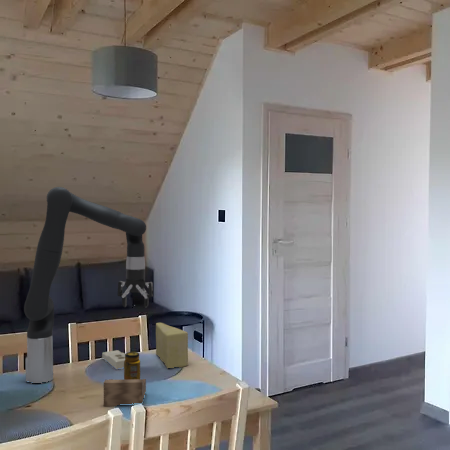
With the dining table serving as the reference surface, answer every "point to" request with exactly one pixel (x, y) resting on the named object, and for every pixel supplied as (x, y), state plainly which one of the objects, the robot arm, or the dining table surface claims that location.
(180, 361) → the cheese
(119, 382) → the dark wood block
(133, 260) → the robot arm
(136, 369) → the condiment
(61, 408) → the dining table surface
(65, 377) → the dining table surface
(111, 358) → the electrical outlet
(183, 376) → the dining table surface
